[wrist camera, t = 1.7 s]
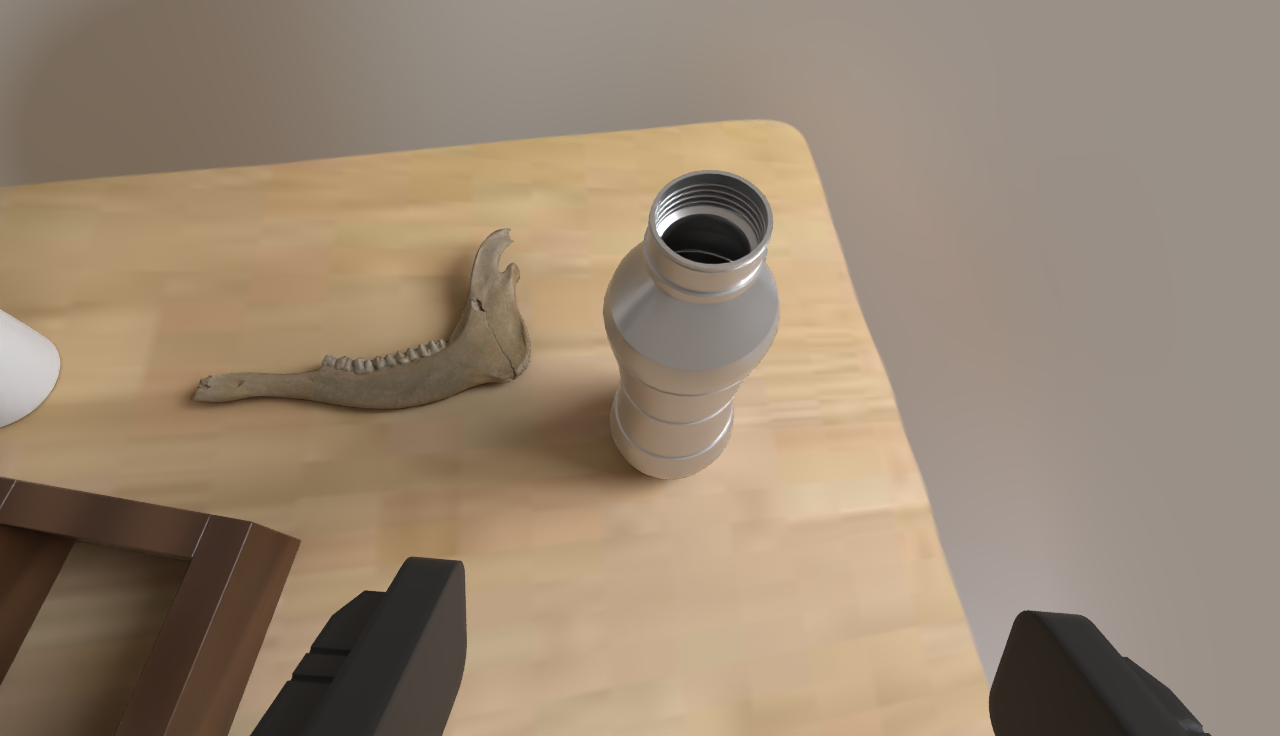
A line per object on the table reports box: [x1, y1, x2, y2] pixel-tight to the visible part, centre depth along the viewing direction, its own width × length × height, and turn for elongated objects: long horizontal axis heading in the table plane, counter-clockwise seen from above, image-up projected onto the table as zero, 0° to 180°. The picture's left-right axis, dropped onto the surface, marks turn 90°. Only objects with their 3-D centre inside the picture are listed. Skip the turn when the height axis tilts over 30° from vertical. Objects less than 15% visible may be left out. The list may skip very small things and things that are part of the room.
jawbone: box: [191, 228, 531, 409], centre depth 38 cm, size 9×20×2 cm, turn 123°
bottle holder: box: [0, 477, 301, 736], centre depth 30 cm, size 14×14×5 cm
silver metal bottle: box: [603, 170, 780, 479], centre depth 28 cm, size 6×7×20 cm
